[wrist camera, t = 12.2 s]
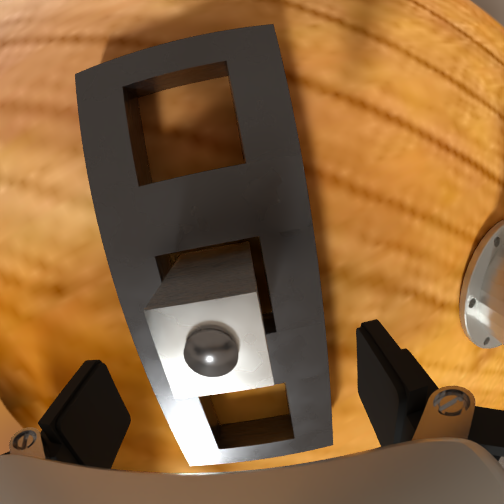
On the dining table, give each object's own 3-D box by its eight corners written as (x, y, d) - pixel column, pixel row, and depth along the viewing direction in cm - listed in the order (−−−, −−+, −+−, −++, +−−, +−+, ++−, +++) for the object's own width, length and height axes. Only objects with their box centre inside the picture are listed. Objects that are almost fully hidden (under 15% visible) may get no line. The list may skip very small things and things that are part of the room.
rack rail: (268, 43, 17) (273, 24, 15) (325, 421, 25) (333, 444, 22) (94, 84, 17) (74, 74, 15) (193, 442, 25) (190, 465, 22)
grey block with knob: (248, 240, 21) (256, 294, 12) (260, 304, 22) (275, 389, 13) (181, 253, 21) (141, 313, 12) (196, 315, 22) (174, 402, 13)
